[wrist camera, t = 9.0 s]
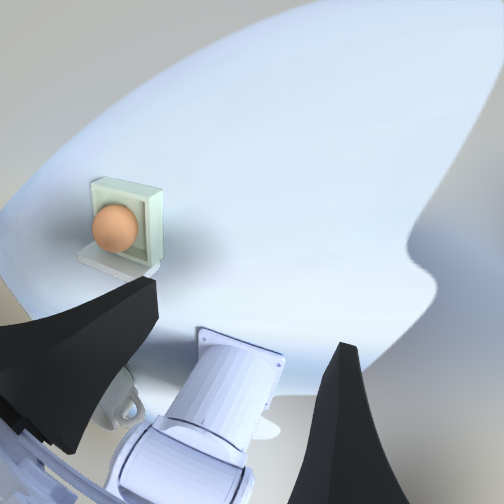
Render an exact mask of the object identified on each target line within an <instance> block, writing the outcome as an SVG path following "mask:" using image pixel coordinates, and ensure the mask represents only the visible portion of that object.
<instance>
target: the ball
mask: <svg viewBox="0 0 504 504" xmlns="http://www.w3.org/2000/svg"><path fill="white" fill-rule="evenodd" d="M92 234H93V237H94V240H95V242H96V243H97V244H98V246H99V247H101V248H102V249H103V250H105V251H108V252H112V253H118V252H122V251H124V250H126V249H128V248H129V247H130V246H131V245H132V244H133V243H134V241H135V240H136V237H137V234H138V222H137V219H136V217H135V215H134V213H133V212H132V211H131V210H130V209H128V208H127V207H125V206H123V205H118V204H113V205H108V206H106V207H104V208H102V209H101V210H100V211H99V212H98V213H97V215H96V216H95V218H94V220H93V224H92Z"/></svg>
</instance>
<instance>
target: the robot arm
mask: <svg viewBox="0 0 504 504" xmlns="http://www.w3.org/2000/svg"><path fill="white" fill-rule="evenodd" d="M158 318H159V314H158V303H157V291H156V280H153V279H150V278H148V277H145V276H141V277H139V278H137V279H135V280H133V281H130V282H128V283H126V284H124V285H122V286H120V287H118V288H116V289H114V290H112V291H110V292H108V293H106V294H104V295H102V296H100V297H98V298H95V299H93V300H91V301H88V302H86V303H84V304H82V305H79V306H77V307H75V308H72V309H70V310H67V311H64V312H61V313H58V314H55V315H52V316H49V317H45V318H42V319H38V320H34V321H30V322H26V323H20V324H14V325H8V326H0V498H1V500H0V504H74V503H75V501H76V500H77V498H78V496H77V495H76V494H74V493H73V492H72V491H71V490H69V489H68V488H67V487H66V486H64V485H63V484H62V483H60V482H59V481H58V480H56V479H55V478H53V477H52V476H51V475H49V474H48V473H47V472H45V469H44V464H45V465H46V466H47V467H48V468H50V469H51V470H52V471H53V472H55V473H56V474H57V475H58V476H60V477H61V478H62V479H64V480H65V481H66V482H68V483H69V484H70V485H72V486H73V487H74V488H76V489H77V490H79V491H80V492H81V493H83V494H84V495H86V496H87V497H89V498H90V499H92V500H93V501H95V502H96V503H98V504H247V503H248V501H249V499H250V496H251V493H252V491H253V487H254V483H255V476H254V474H253V471H252V469H251V468H250V467H248V466H245V463H246V461H247V458H248V455H246V454H245V453H246V451H247V448H248V446H249V444H250V441H251V439H252V436H253V434H254V431H255V429H256V426H257V424H258V421H259V419H260V416H261V414H262V411H263V410H268V408H269V405H270V403H271V400H272V397H273V395H274V392H275V389H276V387H277V384H278V381H279V378H280V376H281V373H282V370H283V367H284V365H285V362H286V358H285V357H284V356H282V355H279V354H276V353H273V352H270V351H267V350H264V349H261V348H258V347H255V346H252V345H249V344H246V343H243V342H240V341H237V340H234V339H231V338H229V337H226V336H223V335H220V334H218V333H215V332H212V331H209V330H207V329H200V331H199V334H198V362H197V364H196V366H195V367H194V369H193V370H192V372H191V374H190V375H189V377H188V379H187V380H186V382H185V383H184V385H183V387H182V388H181V390H180V392H179V393H178V395H177V396H176V398H175V400H174V401H173V403H172V404H171V406H170V408H169V409H168V411H167V412H166V414H165V416H164V417H163V416H161V415H158V417H157V418H156V420H155V421H154V423H152V422H150V421H143V422H141V423H137V424H135V425H134V426H133V427H132V428H131V429H130V430H129V431H128V432H127V433H126V434H125V436H124V437H123V439H122V440H121V442H120V443H119V445H118V447H117V448H116V450H115V452H114V454H113V457H112V459H111V462H110V466H109V473H108V476H107V479H106V482H105V484H104V487H103V488H102V487H100V486H98V485H97V484H95V483H94V482H92V481H91V480H89V479H88V478H86V477H85V476H84V475H82V474H81V473H79V472H78V471H77V470H75V469H74V468H72V467H71V466H70V465H68V464H67V463H66V462H64V461H63V460H62V459H60V458H59V457H58V456H57V455H55V454H54V453H53V452H51V451H50V450H49V449H48V448H47V447H46V446H44V445H43V444H42V443H43V441H45V442H47V443H48V444H49V445H52V444H54V445H55V446H57V447H58V448H59V449H61V450H62V451H63V452H64V453H66V454H68V455H70V454H75V452H76V449H77V447H78V445H79V442H80V440H81V438H82V435H83V433H84V431H85V428H86V427H87V425H88V423H89V421H90V419H91V417H92V415H93V413H94V411H95V409H96V407H97V405H98V404H99V402H100V400H101V398H102V397H103V395H104V393H105V392H106V390H107V389H108V387H109V385H110V384H111V382H112V381H113V379H114V378H115V377H116V375H117V374H118V373H119V371H120V370H121V369H122V368H123V367H124V365H125V364H126V363H127V362H128V360H129V359H130V358H131V357H132V355H133V354H134V353H135V352H136V351H137V349H138V348H139V347H140V346H141V344H142V343H143V342H144V341H145V339H146V338H147V337H148V335H149V333H150V332H151V330H152V329H153V327H154V325H155V323H156V322H157V320H158ZM278 363H279V364H278ZM43 463H44V464H43ZM287 504H410V503H409V501H408V500H407V498H406V496H405V495H404V493H403V491H402V489H401V487H400V485H399V483H398V481H397V479H396V477H395V475H394V473H393V471H392V469H391V467H390V465H389V463H388V460H387V457H386V455H385V452H384V450H383V448H382V445H381V442H380V439H379V437H378V434H377V431H376V428H375V425H374V421H373V418H372V415H371V411H370V407H369V404H368V399H367V395H366V391H365V387H364V383H363V378H362V373H361V367H360V362H359V356H358V349H357V347H356V346H353V345H350V344H346V343H343V342H339V345H338V347H337V349H336V351H335V353H334V355H333V357H332V359H331V361H330V363H329V365H328V367H327V368H326V370H325V372H324V374H323V377H322V380H321V384H320V387H319V391H318V394H317V398H316V402H315V408H314V413H313V418H312V424H311V429H310V435H309V439H308V444H307V449H306V453H305V456H304V460H303V463H302V466H301V469H300V472H299V475H298V478H297V480H296V483H295V486H294V488H293V491H292V493H291V496H290V499H289V501H288V503H287Z"/></svg>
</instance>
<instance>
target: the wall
mask: <svg viewBox="0 0 504 504" xmlns="http://www.w3.org/2000/svg"><path fill="white" fill-rule="evenodd" d="M77 257H78V261H80V262H82V263H84V264H86V265H88V266H91V267H93V268H95V269H97V270H100V271H102V272H104V273H106V274H109V275H111V276H113V277H116V278H118V279H120V280H123V281H125V282H127V283H128V282H130V281H133V280H135V279H137V278H139V277H141V276H145V277H148V278H150V277H151V276H152V275H153V274H154V273H155V272H156V271H157V270H158V269H159V268H160V261H159V262H158V263H157V264H156V265H155V266H154V267H152V268H151V267H149V266H146V265H143V264H141V263H138V262H135V261H133V260H130V259H127V258H125V257H122V256H119V255H117V254H114V253H112V252H108V251H105V250H103V249H101V248H99V247H98V244H97V243H96V242H95V240H94V241H93V242H91V243H90V244H89V245H87V246H86V247H84V248H83V249H82V250H80V251H79V252H78V253H77Z"/></svg>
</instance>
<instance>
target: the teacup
mask: <svg viewBox="0 0 504 504" xmlns="http://www.w3.org/2000/svg"><path fill="white" fill-rule="evenodd" d="M134 403H135V405H136V407H137V414H136V415H135V416H134V417H133V418H131V419H129V420H126V419H124V417H125V416H126V415H127V413H128V412H129V411H130V409H131V408H132V406H133V404H134ZM144 419H145V409H144V406H143V404H142V402H141V400H140V399H139V397H138V391H137V389H136V388H135V387H134V382H133V378H132V376H131V374H130V373H129V371H128V370H127V369H126V367H125V366H124V367H123V368H122V369H121V370H120V371H119V373H118V374H117V375H116V377H115V378H114V379H113V381H112V382H111V384H110V385H109V387H108V389H107V390H106V392H105V393H104V395H103V397H102V398H101V400H100V402H99V404H98V405H97V407H96V409H95V411H94V413H93V415H92V417H91V419H90V421H91V422H92V423H94V424H95V425H97V426H98V427H100V428H102V429H104V430H106V431H109V432H114V431H116V429H117V426H118V425H119V424H120V425H121V426H122V427H124V428H127V429H131V428H132V427H133V426H134V425H135V424H137V423H141V422H143V421H144Z"/></svg>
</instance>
